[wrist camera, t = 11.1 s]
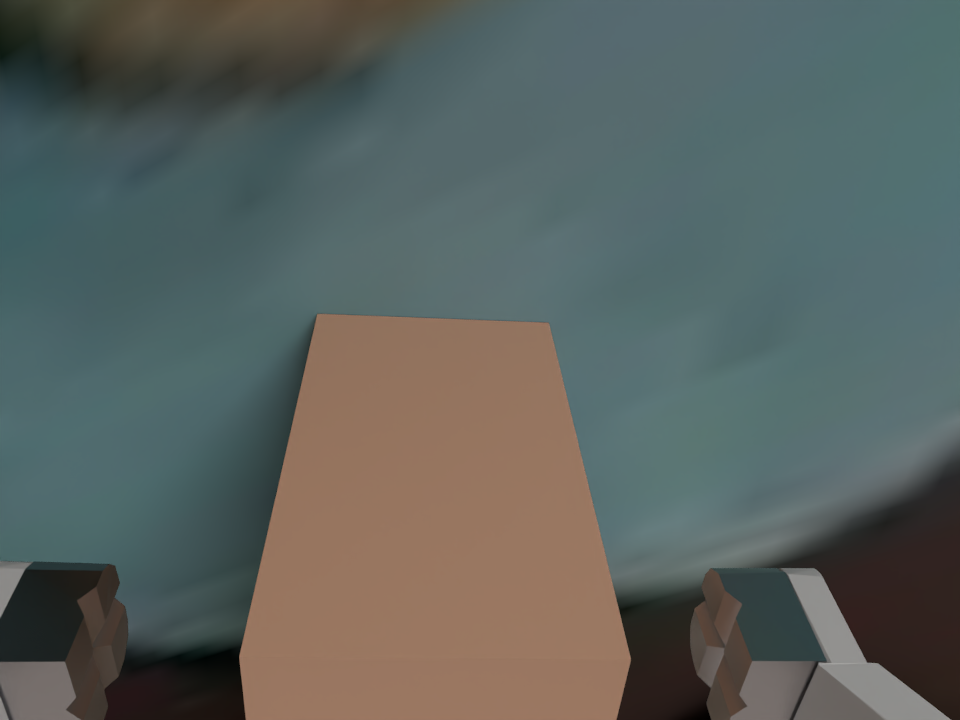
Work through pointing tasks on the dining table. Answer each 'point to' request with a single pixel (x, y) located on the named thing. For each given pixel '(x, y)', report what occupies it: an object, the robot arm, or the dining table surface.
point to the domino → (433, 536)
